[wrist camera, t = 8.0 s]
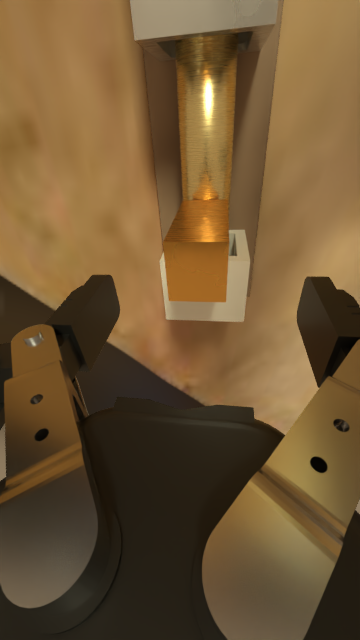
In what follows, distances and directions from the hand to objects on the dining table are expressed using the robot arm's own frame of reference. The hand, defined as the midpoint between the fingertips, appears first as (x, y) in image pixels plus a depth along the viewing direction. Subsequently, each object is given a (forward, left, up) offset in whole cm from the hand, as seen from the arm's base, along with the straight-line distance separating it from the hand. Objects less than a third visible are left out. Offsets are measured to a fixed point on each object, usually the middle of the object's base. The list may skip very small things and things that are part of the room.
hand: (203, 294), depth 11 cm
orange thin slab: (0, -3, -11) cm, 12 cm away
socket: (0, +4, -13) cm, 13 cm away
